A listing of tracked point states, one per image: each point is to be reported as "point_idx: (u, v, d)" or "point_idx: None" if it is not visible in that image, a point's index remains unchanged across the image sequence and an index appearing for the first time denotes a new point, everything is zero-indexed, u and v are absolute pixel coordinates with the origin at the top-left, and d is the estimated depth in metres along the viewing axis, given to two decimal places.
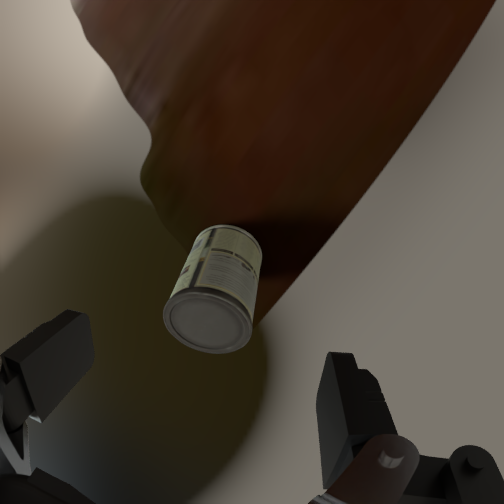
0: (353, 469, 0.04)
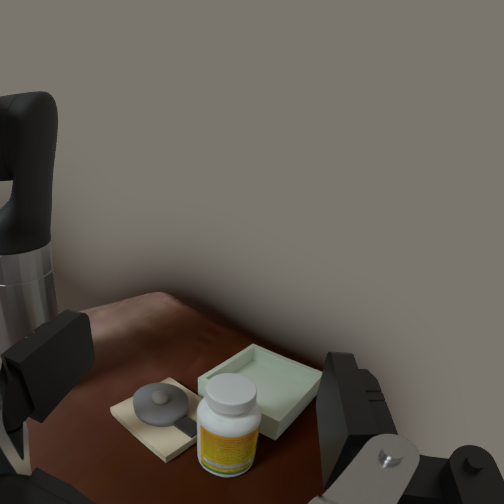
0: (353, 469, 0.04)
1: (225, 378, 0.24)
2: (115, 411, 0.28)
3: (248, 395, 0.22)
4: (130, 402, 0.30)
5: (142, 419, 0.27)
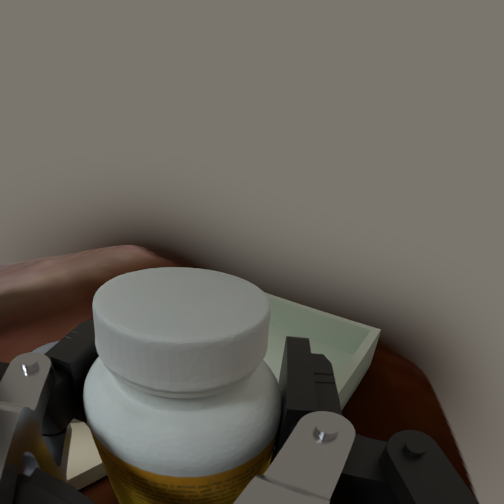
0: (289, 447, 0.05)
1: (167, 276, 0.08)
2: None
3: (241, 317, 0.06)
4: None
5: None
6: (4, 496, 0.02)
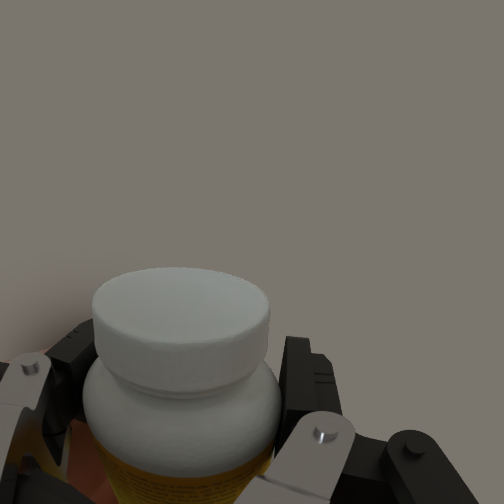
0: (289, 447, 0.05)
1: (167, 276, 0.08)
2: None
3: (240, 317, 0.06)
4: None
5: None
6: (4, 496, 0.02)
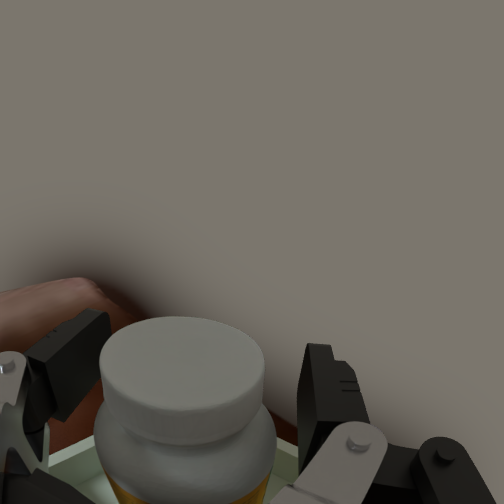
0: (321, 457, 0.05)
1: (168, 328, 0.08)
2: None
3: (237, 379, 0.06)
4: None
5: None
6: None
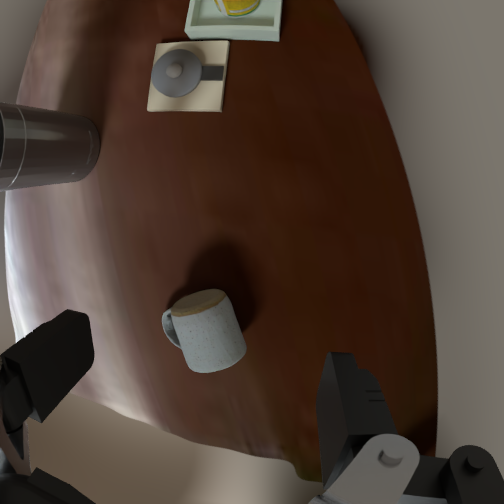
0: (353, 469, 0.04)
1: None
2: (153, 108, 0.33)
3: None
4: (154, 91, 0.33)
5: (177, 96, 0.32)
6: None
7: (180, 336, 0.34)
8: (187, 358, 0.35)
